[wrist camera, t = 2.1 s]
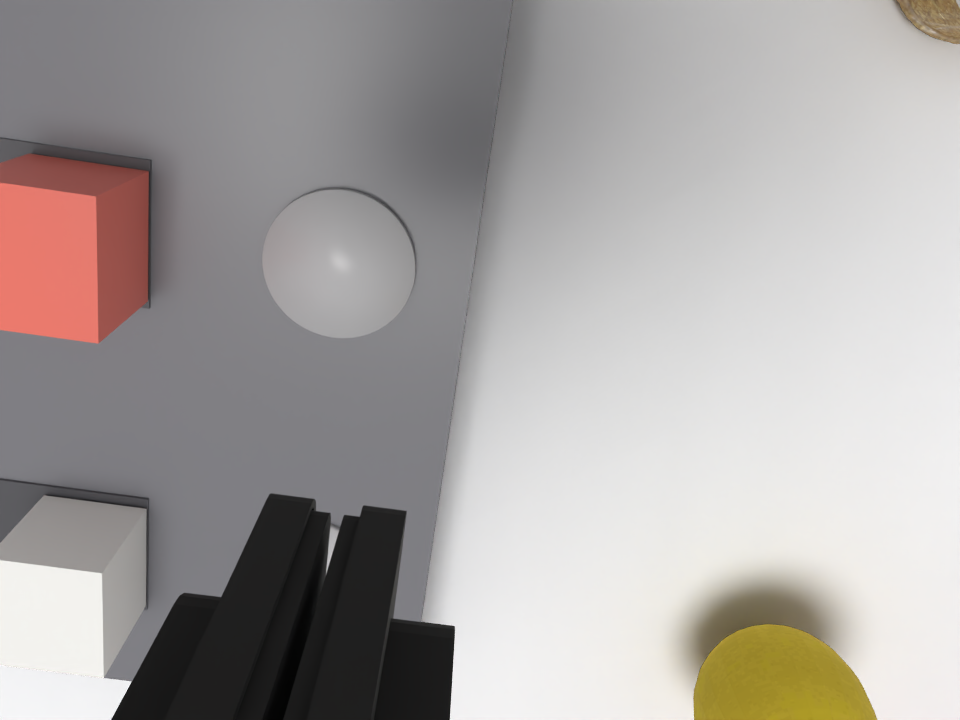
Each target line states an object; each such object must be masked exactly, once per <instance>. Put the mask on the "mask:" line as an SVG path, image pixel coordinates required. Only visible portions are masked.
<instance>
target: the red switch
mask: <svg viewBox="0 0 960 720" xmlns="http://www.w3.org/2000/svg"><path fill="white" fill-rule="evenodd" d="M148 208H149V171H145V170H138V169H131V168H124V167H117V166H111V165H104V164H97V163H90V162H84V161H77V160H70V159H63V158H56V157H50V156H43V155H36V154H26V155H23V156H20V157H17V158H14V159H11V160H7V161H4V162H1V163H0V330H4V331H12V332H19V333H26V334H33V335H40V336H47V337H55V338H62V339H69V340H76V341H83V342H90V343H97V344H99V343H100V342H101V341H102V340H103V339H104V338H106V337H107V336H108V335H109V334H110V333H111V332H113V331H114V330H115V329H116V328H117V327H118V326H120V325H121V324H122V323H123V322H124V321H125V320H127V319H128V318H129V317H130V316H131V315H132V314H134V313H135V312H136V311H137V310H138V309H139V308H141V307H142V306H143V305H144V304H145V303H146V302H148Z"/></svg>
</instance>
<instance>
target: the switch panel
mask: <svg viewBox="0 0 960 720" xmlns="http://www.w3.org/2000/svg"><path fill="white" fill-rule="evenodd" d="M512 4H513V0H0V163H1V162H4V161H7V160H11V159H14V158H17V157H20V156H23V155H26V154H36V155H43V156H50V157H56V158H63V159H70V160H77V161H84V162H90V163H97V164H104V165H111V166H117V167H124V168H131V169H138V170H145V171H149V208H148V302H146V303H145V304H144V305H143V306H142V307H141V308H139V309H138V310H137V311H136V312H135V313H134V314H132V315H131V316H130V317H129V318H128V319H127V320H125V321H124V322H123V323H122V324H121V325H120V326H118V327H117V328H116V329H115V330H114V331H113V332H111V333H110V334H109V335H108V336H107V337H106V338H104V339H103V340H102V341H101V342H100V343H99V344H97V343H90V342H83V341H76V340H69V339H62V338H55V337H47V336H40V335H33V334H26V333H19V332H12V331H4V330H0V543H1V542H2V540H3V539H4V538H5V537H6V536H7V535H8V534H9V533H10V532H11V531H12V530H13V528H14V527H15V526H16V525H17V524H18V523H19V522H20V521H21V520H22V519H23V518H24V516H25V515H26V514H27V513H28V512H29V511H30V510H31V509H32V508H33V507H34V506H35V504H36V503H37V502H38V501H39V500H40V499H41V498H42V497H43V496H44V495H46V496H53V497H61V498H69V499H76V500H84V501H91V502H99V503H106V504H114V505H121V506H129V507H136V508H144V509H147V516H146V606H145V608H144V610H143V611H142V613H141V615H140V617H139V618H138V620H137V622H136V624H135V625H134V627H133V629H132V630H131V632H130V634H129V636H128V637H127V639H126V641H125V643H124V644H123V646H122V648H121V649H120V651H119V653H118V655H117V656H116V658H115V660H114V661H113V663H112V665H111V667H110V668H109V670H108V672H107V674H106V675H105V677H104V678H110V679H118V680H126V681H133V679H134V677H135V675H136V673H137V671H138V669H139V668H140V666H141V664H142V662H143V660H144V658H145V657H146V655H147V653H148V651H149V649H150V647H151V645H152V644H153V642H154V640H155V638H156V636H157V634H158V632H159V631H160V629H161V627H162V625H163V623H164V621H165V619H166V618H167V616H168V614H169V612H170V610H171V608H172V606H173V605H174V603H175V601H176V600H177V599H178V597H179V596H180V595H181V594H183V593H192V594H200V595H208V596H216V597H222V594H223V592H224V590H225V588H226V586H227V584H228V581H229V579H230V577H231V575H232V573H233V571H234V569H235V566H236V564H237V562H238V560H239V558H240V556H241V553H242V551H243V549H244V547H245V545H246V543H247V541H248V538H249V536H250V534H251V532H252V530H253V528H254V525H255V523H256V521H257V519H258V517H259V515H260V513H261V510H262V508H263V506H264V504H265V502H266V500H267V498H268V496H269V494H271V493H273V494H281V495H289V496H296V497H304V498H312V499H315V500H316V511H320V512H328V513H331V526H330V537H329V547H328V558H327V569H326V573H327V570H328V566H329V563H330V560H331V556H332V553H333V550H334V546H335V543H336V539H337V536H338V533H339V529H340V526H341V522H342V519H343V516H344V515H351V516H359V517H360V514H361V511H362V507H363V505H366V506H374V507H382V508H389V509H397V510H405V511H407V515H406V523H405V531H404V539H403V547H402V554H401V562H400V570H399V578H398V586H397V593H396V601H395V609H394V617H393V619H401V620H409V621H417V622H421V618H422V612H423V605H424V598H425V591H426V585H427V578H428V571H429V564H430V558H431V551H432V544H433V537H434V531H435V524H436V517H437V510H438V504H439V497H440V490H441V483H442V477H443V470H444V463H445V456H446V450H447V443H448V436H449V429H450V423H451V416H452V409H453V402H454V396H455V389H456V382H457V375H458V369H459V362H460V355H461V348H462V342H463V335H464V328H465V321H466V315H467V308H468V301H469V294H470V288H471V281H472V274H473V267H474V261H475V254H476V247H477V240H478V234H479V227H480V220H481V213H482V207H483V200H484V193H485V186H486V180H487V173H488V166H489V159H490V153H491V146H492V139H493V132H494V126H495V119H496V112H497V105H498V99H499V92H500V85H501V78H502V72H503V65H504V58H505V51H506V45H507V38H508V31H509V24H510V18H511V11H512Z"/></svg>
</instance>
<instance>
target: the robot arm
mask: <svg viewBox="0 0 960 720" xmlns="http://www.w3.org/2000/svg"><path fill="white" fill-rule="evenodd" d="M406 515H407V511H405V510H397V509H389V508H382V507H374V506H366V505H363V507H362V511H361V514H360V517H359V516H351V515H344V516H343V519H342V522H341V526H340V529H339V533H338V536H337V539H336V543H335V546H334V550H333V553H332V556H331V560H330V563H329V566H328V570H327V573H326V569H327V558H328V547H329V537H330V526H331V513H328V512H320V511H316V500H315V499H312V498H304V497H296V496H289V495H281V494H273V493H271V494H269V496H268V498H267V500H266V502H265V504H264V506H263V508H262V510H261V513H260V515H259V517H258V519H257V521H256V523H255V525H254V528H253V530H252V532H251V534H250V536H249V538H248V541H247V543H246V545H245V547H244V549H243V551H242V553H241V556H240V558H239V560H238V562H237V564H236V566H235V569H234V571H233V573H232V575H231V577H230V579H229V581H228V584H227V586H226V588H225V590H224V592H223V594H222V597H216V596H208V595H200V594H192V593H183V594H181V595H180V596H179V597H178V599H177V600H176V601H175V603H174V605H173V606H172V608H171V610H170V612H169V614H168V616H167V618H166V619H165V621H164V623H163V625H162V627H161V629H160V631H159V632H158V634H157V636H156V638H155V640H154V642H153V644H152V645H151V647H150V649H149V651H148V653H147V655H146V657H145V658H144V660H143V662H142V664H141V666H140V668H139V669H138V671H137V673H136V675H135V677H134V679H133V681H132V682H131V684H130V686H129V688H128V690H127V692H126V694H125V695H124V697H123V699H122V701H121V703H120V705H119V707H118V708H117V710H116V712H115V714H114V716H113V718H112V720H450V705H451V688H452V672H453V655H454V638H455V627H454V626H449V625H441V624H433V623H425V622H417V621H409V620H401V619H393V617H394V609H395V601H396V593H397V586H398V578H399V570H400V562H401V554H402V547H403V539H404V531H405V523H406Z"/></svg>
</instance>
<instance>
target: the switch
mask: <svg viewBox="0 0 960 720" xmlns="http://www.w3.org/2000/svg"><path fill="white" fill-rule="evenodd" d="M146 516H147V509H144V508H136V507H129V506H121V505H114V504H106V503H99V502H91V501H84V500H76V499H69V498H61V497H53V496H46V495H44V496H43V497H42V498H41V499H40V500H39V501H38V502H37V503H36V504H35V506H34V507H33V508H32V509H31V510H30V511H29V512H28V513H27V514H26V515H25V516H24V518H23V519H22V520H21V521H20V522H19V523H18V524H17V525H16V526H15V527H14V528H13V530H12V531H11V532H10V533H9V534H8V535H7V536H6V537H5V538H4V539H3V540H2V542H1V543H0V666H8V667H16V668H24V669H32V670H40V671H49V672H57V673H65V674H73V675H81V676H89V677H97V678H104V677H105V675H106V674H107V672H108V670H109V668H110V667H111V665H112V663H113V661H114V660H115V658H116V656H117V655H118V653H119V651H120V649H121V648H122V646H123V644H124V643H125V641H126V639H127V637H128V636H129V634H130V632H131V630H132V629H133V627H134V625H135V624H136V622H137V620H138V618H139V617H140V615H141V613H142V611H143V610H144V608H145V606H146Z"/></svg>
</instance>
